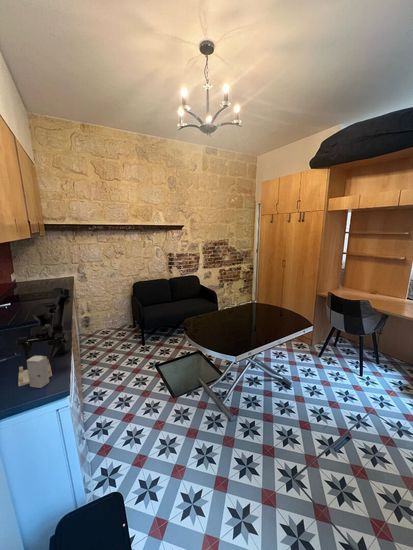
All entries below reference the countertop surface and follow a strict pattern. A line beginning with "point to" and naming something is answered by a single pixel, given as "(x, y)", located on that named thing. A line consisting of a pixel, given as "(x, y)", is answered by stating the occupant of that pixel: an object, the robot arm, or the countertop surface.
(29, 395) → the countertop surface
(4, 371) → the countertop surface
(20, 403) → the countertop surface
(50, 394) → the countertop surface
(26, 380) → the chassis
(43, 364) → the skincare box
